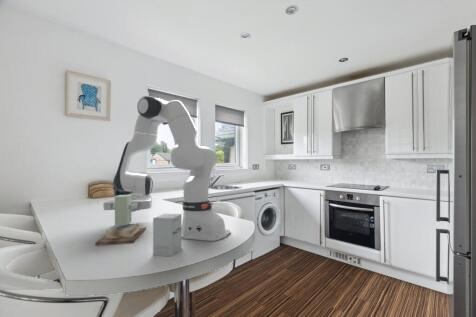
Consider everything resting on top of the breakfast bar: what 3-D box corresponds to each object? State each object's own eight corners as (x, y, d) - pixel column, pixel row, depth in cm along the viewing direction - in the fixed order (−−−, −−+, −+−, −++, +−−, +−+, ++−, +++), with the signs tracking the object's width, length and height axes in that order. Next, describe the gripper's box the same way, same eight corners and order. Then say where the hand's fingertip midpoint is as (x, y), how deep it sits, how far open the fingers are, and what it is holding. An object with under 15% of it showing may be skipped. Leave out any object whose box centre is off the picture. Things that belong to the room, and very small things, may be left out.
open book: (146, 229, 106) (146, 220, 106) (133, 242, 88) (133, 232, 88) (114, 231, 104) (114, 222, 104) (95, 244, 86) (95, 234, 86)
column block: (131, 221, 99) (131, 194, 99) (127, 224, 94) (127, 196, 94) (119, 222, 98) (119, 195, 98) (114, 225, 93) (114, 196, 93)
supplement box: (172, 256, 74) (172, 218, 74) (152, 255, 75) (152, 217, 76) (182, 248, 81) (182, 213, 81) (163, 247, 83) (163, 213, 83)
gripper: (110, 196, 108) (96, 201, 94) (154, 194, 110) (147, 199, 97) (110, 209, 107) (96, 216, 94) (154, 207, 110) (147, 213, 97)
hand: (122, 207), depth 95 cm, fingers closed on column block, 5 cm apart
